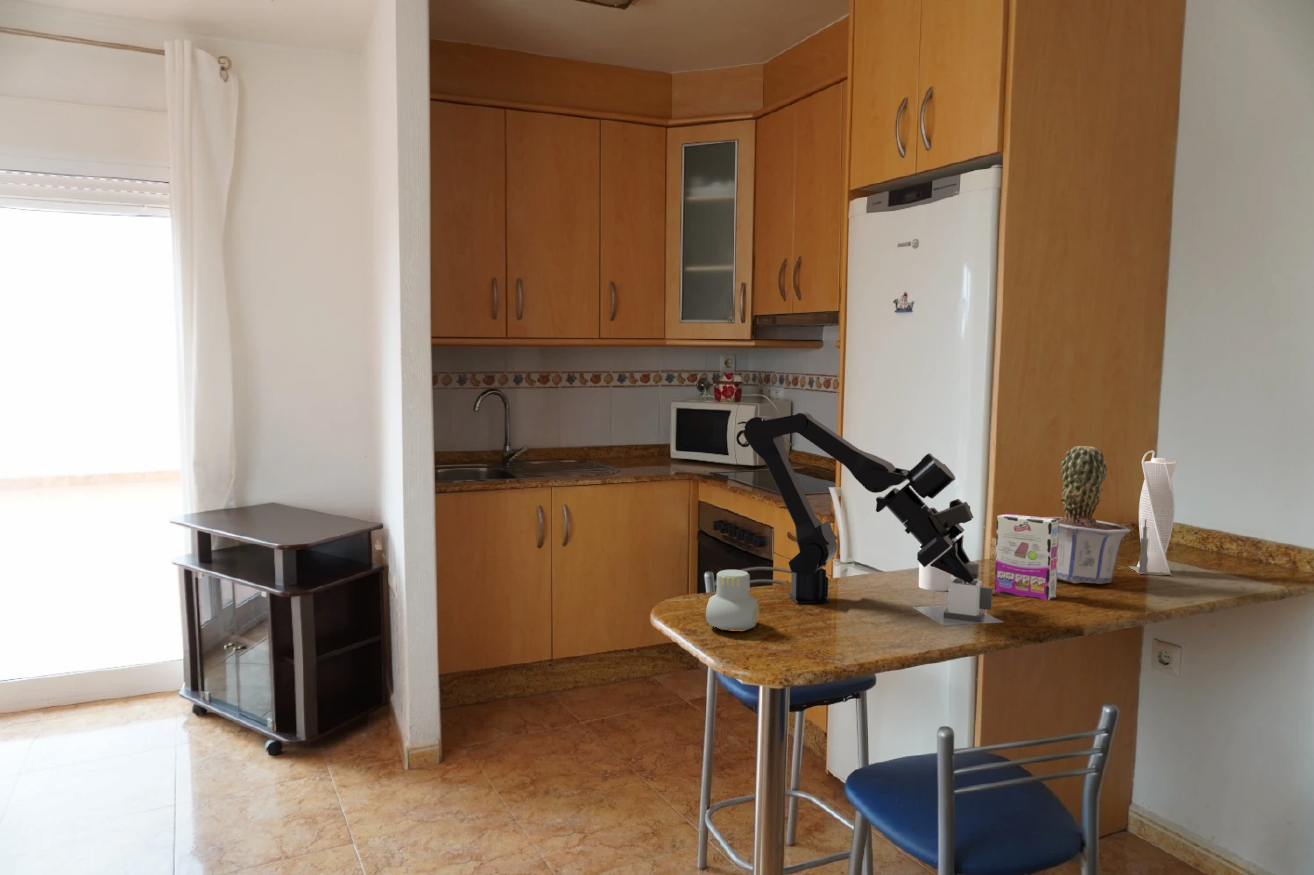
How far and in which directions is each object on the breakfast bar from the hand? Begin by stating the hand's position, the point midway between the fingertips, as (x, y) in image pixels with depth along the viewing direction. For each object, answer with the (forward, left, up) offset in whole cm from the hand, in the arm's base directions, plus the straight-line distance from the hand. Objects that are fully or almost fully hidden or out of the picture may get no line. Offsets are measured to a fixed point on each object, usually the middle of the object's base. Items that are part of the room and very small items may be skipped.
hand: (973, 578), depth 163 cm
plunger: (-1, +1, -5) cm, 5 cm away
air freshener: (-45, +3, -8) cm, 46 cm away
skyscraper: (+63, +31, -8) cm, 71 cm away
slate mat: (-2, +2, -8) cm, 8 cm away
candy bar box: (+21, +16, -8) cm, 27 cm away
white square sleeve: (-1, +1, -7) cm, 7 cm away
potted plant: (+41, +26, -8) cm, 49 cm away
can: (+4, +22, -8) cm, 24 cm away
